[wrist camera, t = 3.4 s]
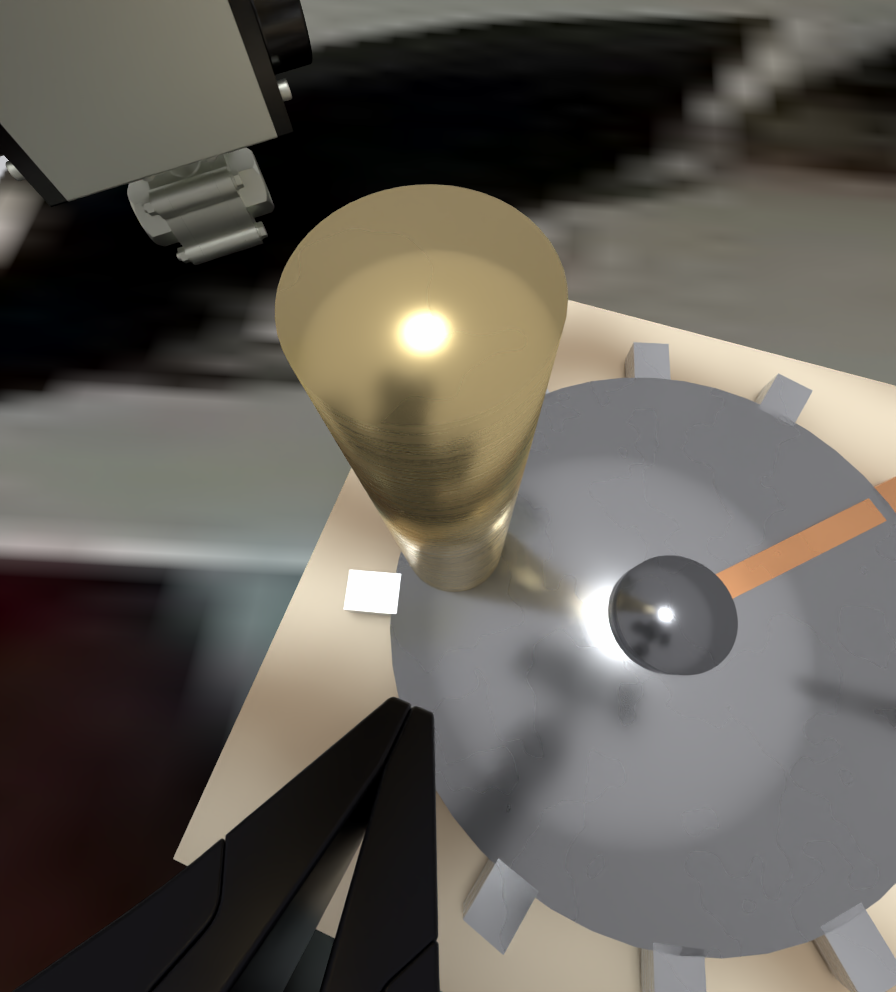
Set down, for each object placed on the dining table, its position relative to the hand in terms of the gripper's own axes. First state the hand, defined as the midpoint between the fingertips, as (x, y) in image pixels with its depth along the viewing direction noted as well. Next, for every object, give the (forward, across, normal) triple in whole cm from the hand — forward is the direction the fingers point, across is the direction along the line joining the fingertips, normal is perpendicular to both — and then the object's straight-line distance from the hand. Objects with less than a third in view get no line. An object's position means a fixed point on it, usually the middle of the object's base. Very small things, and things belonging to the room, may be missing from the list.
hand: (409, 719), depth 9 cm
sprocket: (+8, -5, +1) cm, 10 cm away
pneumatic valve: (+16, +16, -5) cm, 24 cm away
